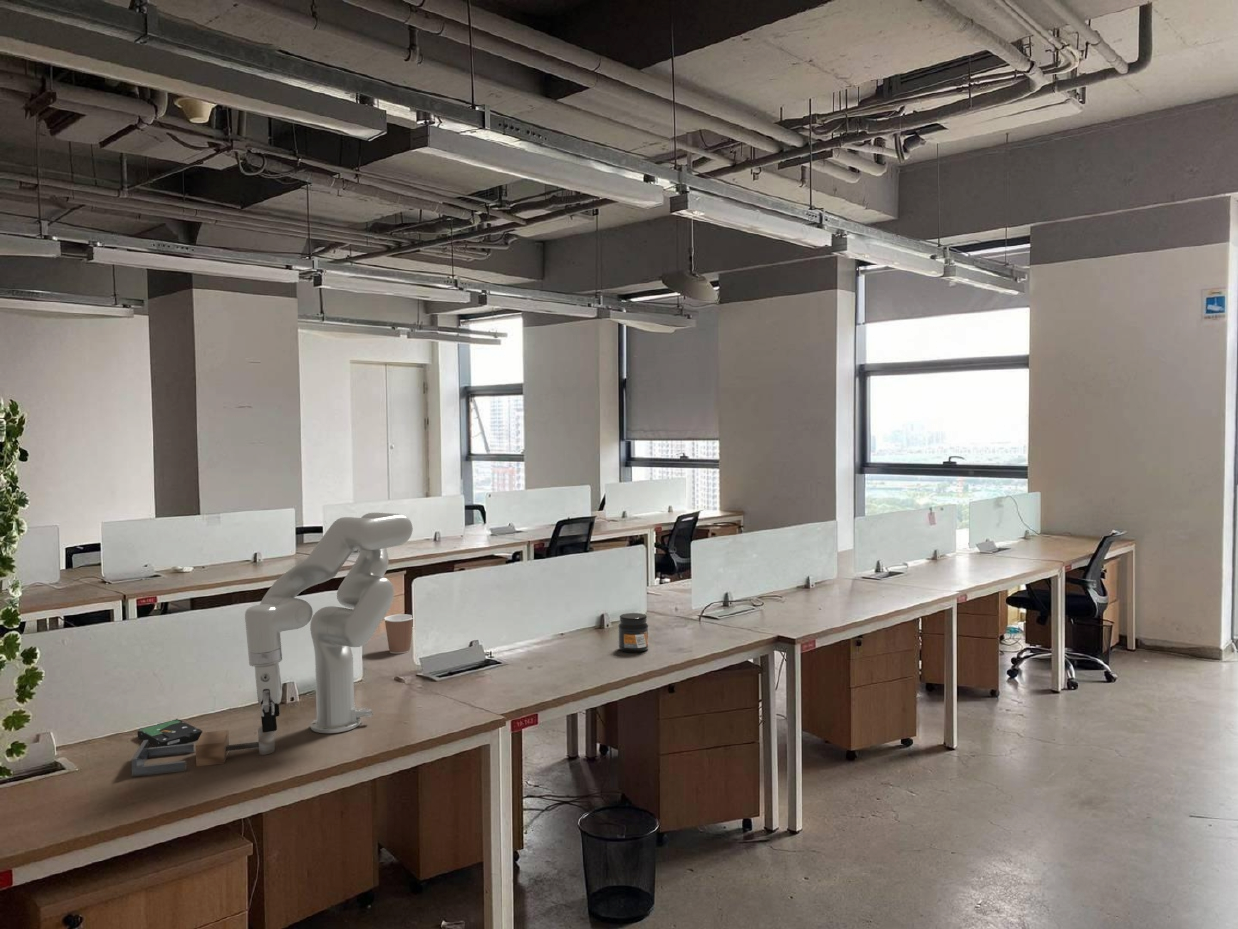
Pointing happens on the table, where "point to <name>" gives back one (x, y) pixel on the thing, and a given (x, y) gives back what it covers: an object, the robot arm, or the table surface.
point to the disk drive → (169, 733)
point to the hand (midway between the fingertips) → (271, 723)
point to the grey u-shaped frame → (146, 752)
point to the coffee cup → (399, 632)
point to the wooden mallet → (228, 746)
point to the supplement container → (633, 633)
